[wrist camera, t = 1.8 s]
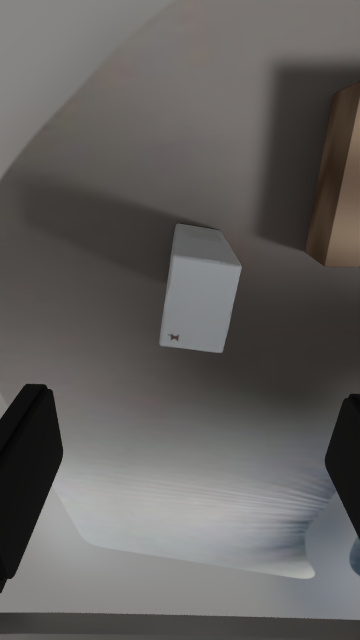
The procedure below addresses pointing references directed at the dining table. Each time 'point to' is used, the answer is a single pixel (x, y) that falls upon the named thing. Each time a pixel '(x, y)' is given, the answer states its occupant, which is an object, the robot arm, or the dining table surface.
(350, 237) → the tan flat square block
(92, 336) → the dining table surface
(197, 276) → the skincare box
